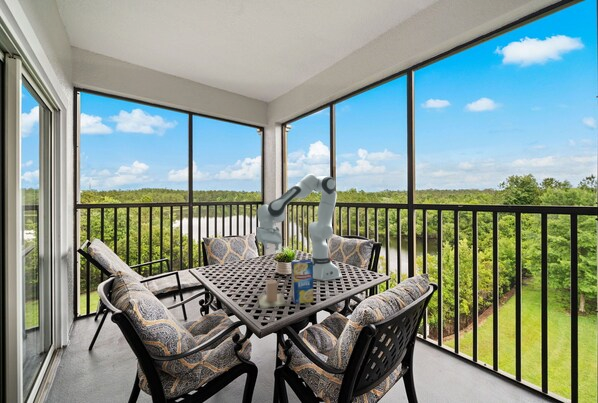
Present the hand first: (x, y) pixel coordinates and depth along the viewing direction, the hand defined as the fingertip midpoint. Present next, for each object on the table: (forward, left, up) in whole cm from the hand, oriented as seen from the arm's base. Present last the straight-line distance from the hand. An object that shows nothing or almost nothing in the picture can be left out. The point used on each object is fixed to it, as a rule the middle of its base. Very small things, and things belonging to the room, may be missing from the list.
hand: (272, 249), depth 156 cm
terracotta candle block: (+3, +14, -25) cm, 29 cm away
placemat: (+3, +14, -26) cm, 30 cm away
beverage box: (-14, +17, -26) cm, 34 cm away
